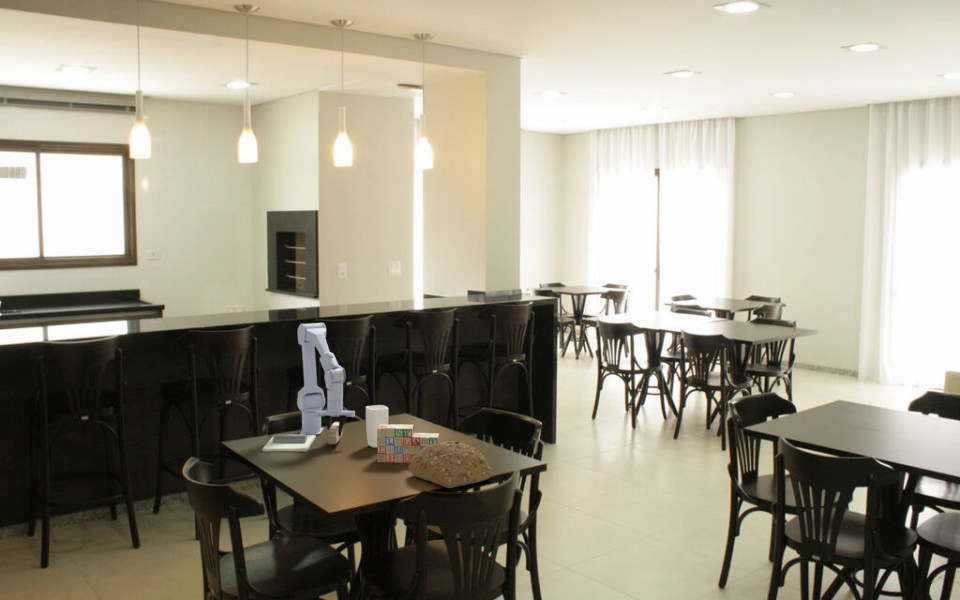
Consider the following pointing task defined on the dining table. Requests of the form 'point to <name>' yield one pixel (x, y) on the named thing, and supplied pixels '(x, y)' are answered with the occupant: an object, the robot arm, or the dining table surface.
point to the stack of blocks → (401, 442)
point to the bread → (450, 464)
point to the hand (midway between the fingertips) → (335, 435)
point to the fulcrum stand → (289, 442)
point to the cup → (375, 422)
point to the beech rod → (333, 433)
